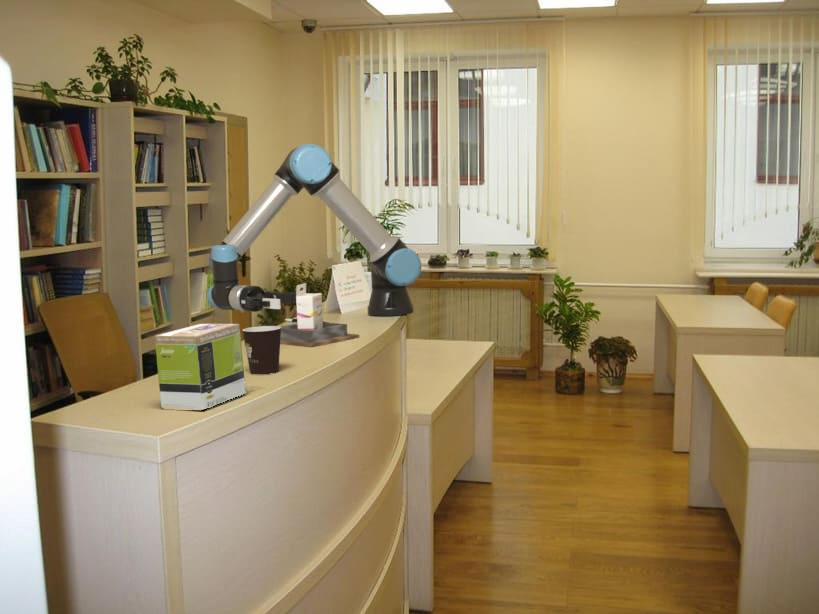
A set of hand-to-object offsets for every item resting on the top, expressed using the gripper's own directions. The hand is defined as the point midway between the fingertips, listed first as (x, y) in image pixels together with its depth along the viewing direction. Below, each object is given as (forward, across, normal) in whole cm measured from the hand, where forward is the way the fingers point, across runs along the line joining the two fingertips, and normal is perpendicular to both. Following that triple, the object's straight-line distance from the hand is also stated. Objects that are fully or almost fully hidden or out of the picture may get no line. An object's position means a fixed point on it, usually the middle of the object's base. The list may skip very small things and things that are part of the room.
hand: (297, 301), depth 259 cm
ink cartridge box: (+4, 0, -10) cm, 11 cm away
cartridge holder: (+4, 0, -11) cm, 11 cm away
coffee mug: (+29, +38, -11) cm, 49 cm away
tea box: (+44, +66, -11) cm, 80 cm away
